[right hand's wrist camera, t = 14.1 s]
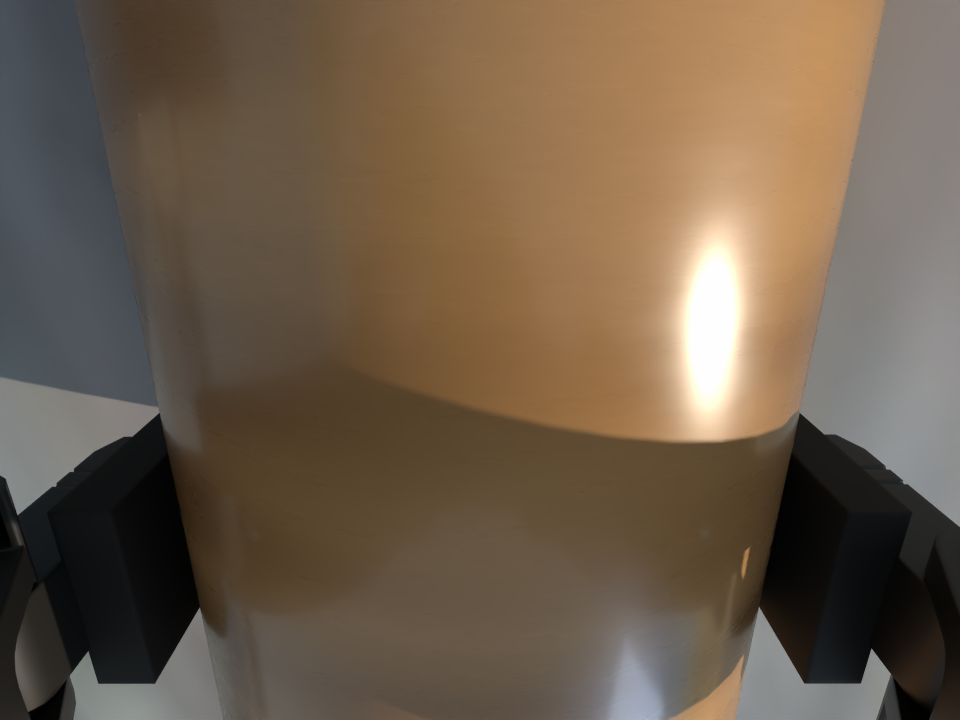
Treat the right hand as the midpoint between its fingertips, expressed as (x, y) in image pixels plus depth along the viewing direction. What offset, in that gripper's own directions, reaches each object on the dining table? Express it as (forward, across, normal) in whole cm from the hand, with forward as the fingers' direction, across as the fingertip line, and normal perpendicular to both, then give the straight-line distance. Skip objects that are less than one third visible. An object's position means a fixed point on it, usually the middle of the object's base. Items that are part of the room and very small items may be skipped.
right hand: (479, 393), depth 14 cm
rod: (0, 0, -10) cm, 10 cm away
